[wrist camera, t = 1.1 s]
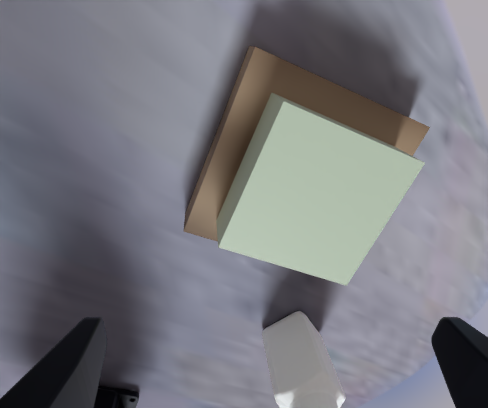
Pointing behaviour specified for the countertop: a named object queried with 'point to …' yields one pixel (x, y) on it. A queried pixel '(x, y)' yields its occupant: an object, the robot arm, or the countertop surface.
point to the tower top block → (312, 192)
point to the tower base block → (250, 111)
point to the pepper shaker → (300, 365)
